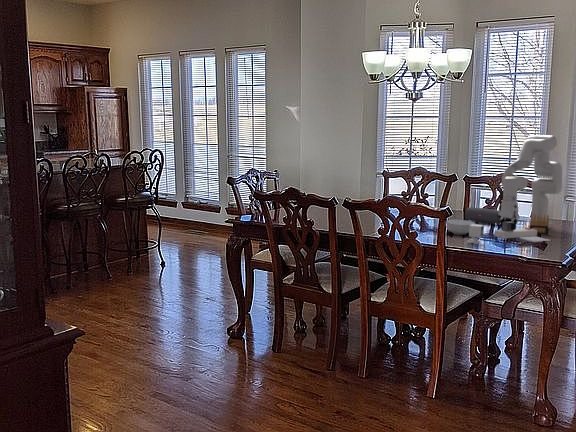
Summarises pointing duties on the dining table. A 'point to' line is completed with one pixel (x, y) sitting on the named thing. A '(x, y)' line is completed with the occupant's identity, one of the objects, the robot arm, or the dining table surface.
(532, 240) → the felt pad
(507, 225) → the block
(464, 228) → the cereal bowl
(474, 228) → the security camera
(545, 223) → the ammunition clip
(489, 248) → the dining table surface
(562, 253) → the dining table surface
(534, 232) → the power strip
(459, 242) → the dining table surface
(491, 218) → the bluetooth speaker
